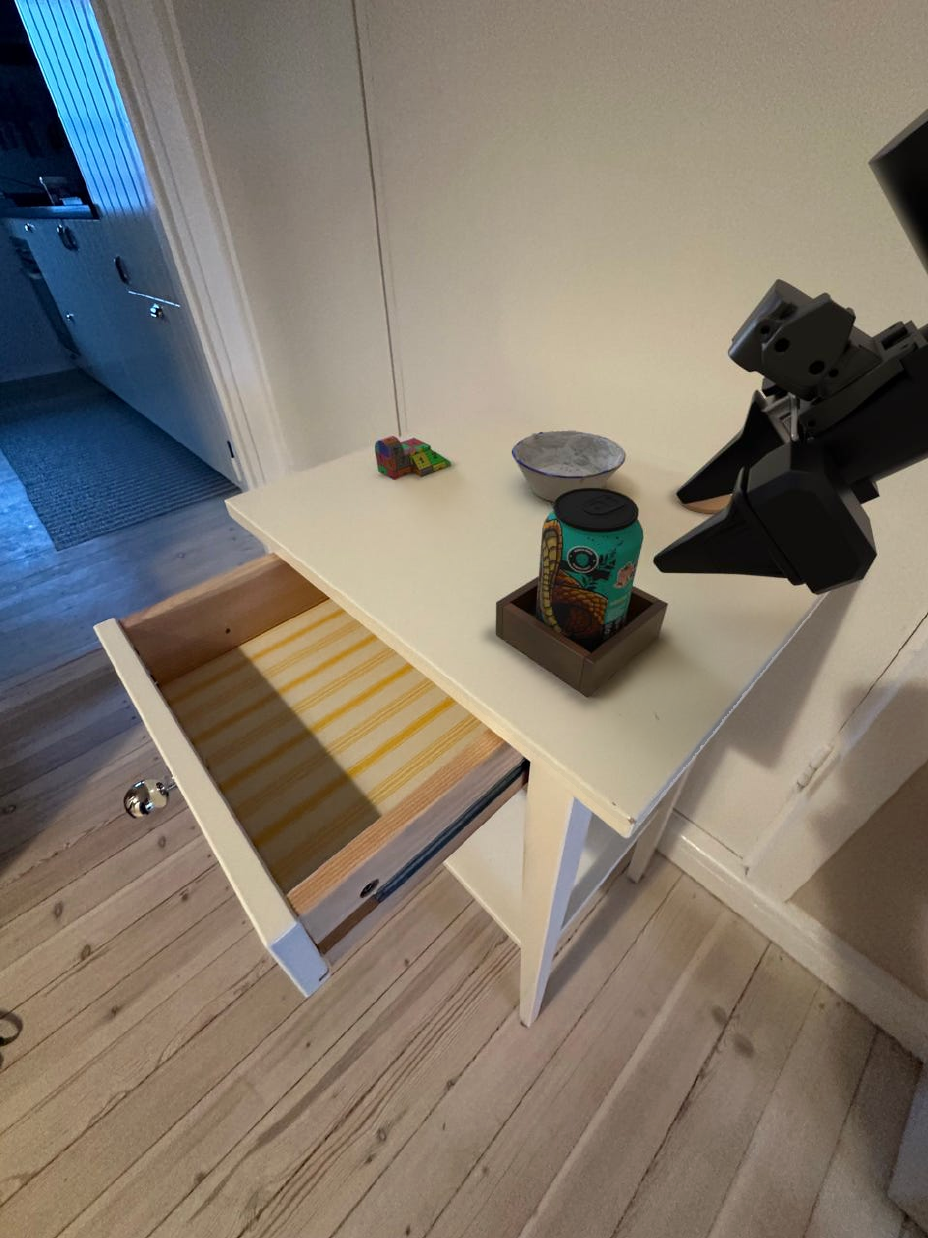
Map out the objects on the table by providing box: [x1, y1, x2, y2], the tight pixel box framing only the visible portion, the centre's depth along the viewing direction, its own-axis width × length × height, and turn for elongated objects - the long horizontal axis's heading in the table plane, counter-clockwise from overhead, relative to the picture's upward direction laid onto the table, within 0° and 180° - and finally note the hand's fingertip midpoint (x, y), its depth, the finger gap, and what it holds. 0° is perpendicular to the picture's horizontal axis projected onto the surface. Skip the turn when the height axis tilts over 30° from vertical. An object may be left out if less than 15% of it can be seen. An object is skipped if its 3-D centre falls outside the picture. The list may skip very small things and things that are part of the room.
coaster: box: [676, 494, 732, 514], centre depth 61 cm, size 6×6×1 cm
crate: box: [495, 575, 669, 697], centre depth 43 cm, size 10×10×4 cm
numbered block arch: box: [374, 435, 452, 480], centre depth 68 cm, size 8×5×4 cm
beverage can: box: [535, 487, 644, 653], centre depth 40 cm, size 7×7×12 cm
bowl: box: [511, 429, 627, 503], centre depth 63 cm, size 13×13×5 cm
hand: (669, 528), depth 35 cm, fingers open, 9 cm apart
